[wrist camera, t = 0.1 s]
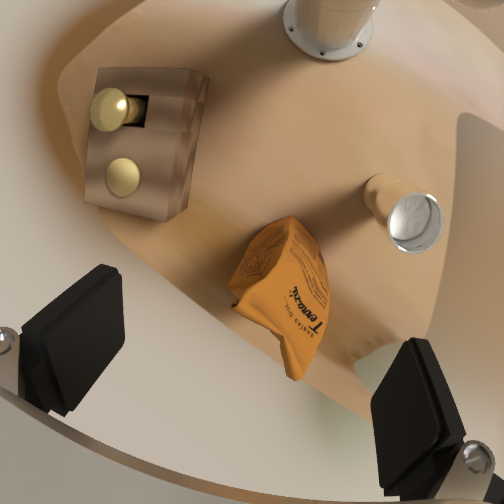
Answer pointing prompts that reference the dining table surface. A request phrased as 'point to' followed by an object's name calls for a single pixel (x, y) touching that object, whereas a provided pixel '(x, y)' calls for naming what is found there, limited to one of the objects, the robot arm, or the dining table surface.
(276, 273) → the coffee package
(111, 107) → the brass peg
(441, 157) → the dining table surface
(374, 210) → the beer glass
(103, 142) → the walnut block
